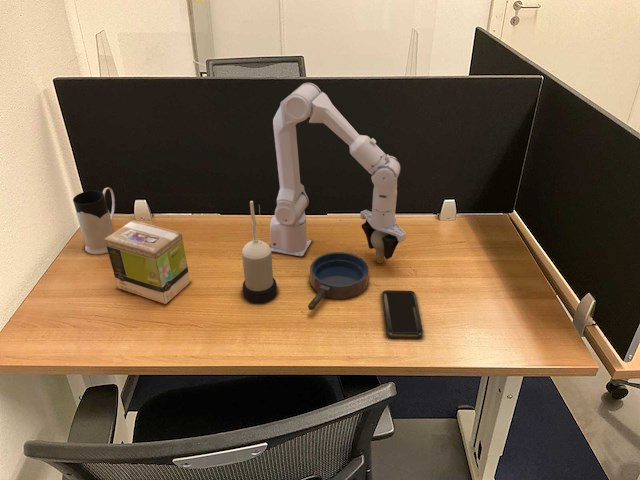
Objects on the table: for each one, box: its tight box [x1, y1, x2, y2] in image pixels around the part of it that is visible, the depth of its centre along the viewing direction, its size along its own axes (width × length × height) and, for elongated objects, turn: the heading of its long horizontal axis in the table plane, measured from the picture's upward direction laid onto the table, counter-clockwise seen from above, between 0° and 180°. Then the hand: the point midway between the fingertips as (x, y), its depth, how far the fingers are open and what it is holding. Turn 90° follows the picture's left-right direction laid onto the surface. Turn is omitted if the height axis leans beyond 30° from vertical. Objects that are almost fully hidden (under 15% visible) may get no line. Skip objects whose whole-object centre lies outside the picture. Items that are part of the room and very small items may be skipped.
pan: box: [309, 251, 369, 300], centre depth 125 cm, size 14×14×4 cm
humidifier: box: [241, 200, 278, 305], centre depth 116 cm, size 8×8×25 cm
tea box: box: [105, 219, 191, 305], centre depth 121 cm, size 15×10×15 cm
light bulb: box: [371, 230, 388, 264], centre depth 130 cm, size 5×6×10 cm
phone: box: [381, 289, 424, 340], centre depth 115 cm, size 8×1×15 cm
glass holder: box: [72, 187, 116, 255], centre depth 138 cm, size 9×14×15 cm, turn 167°
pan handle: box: [307, 284, 331, 311], centre depth 117 cm, size 9×2×2 cm, turn 153°
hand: (380, 252), depth 131 cm, fingers closed on light bulb, 5 cm apart
